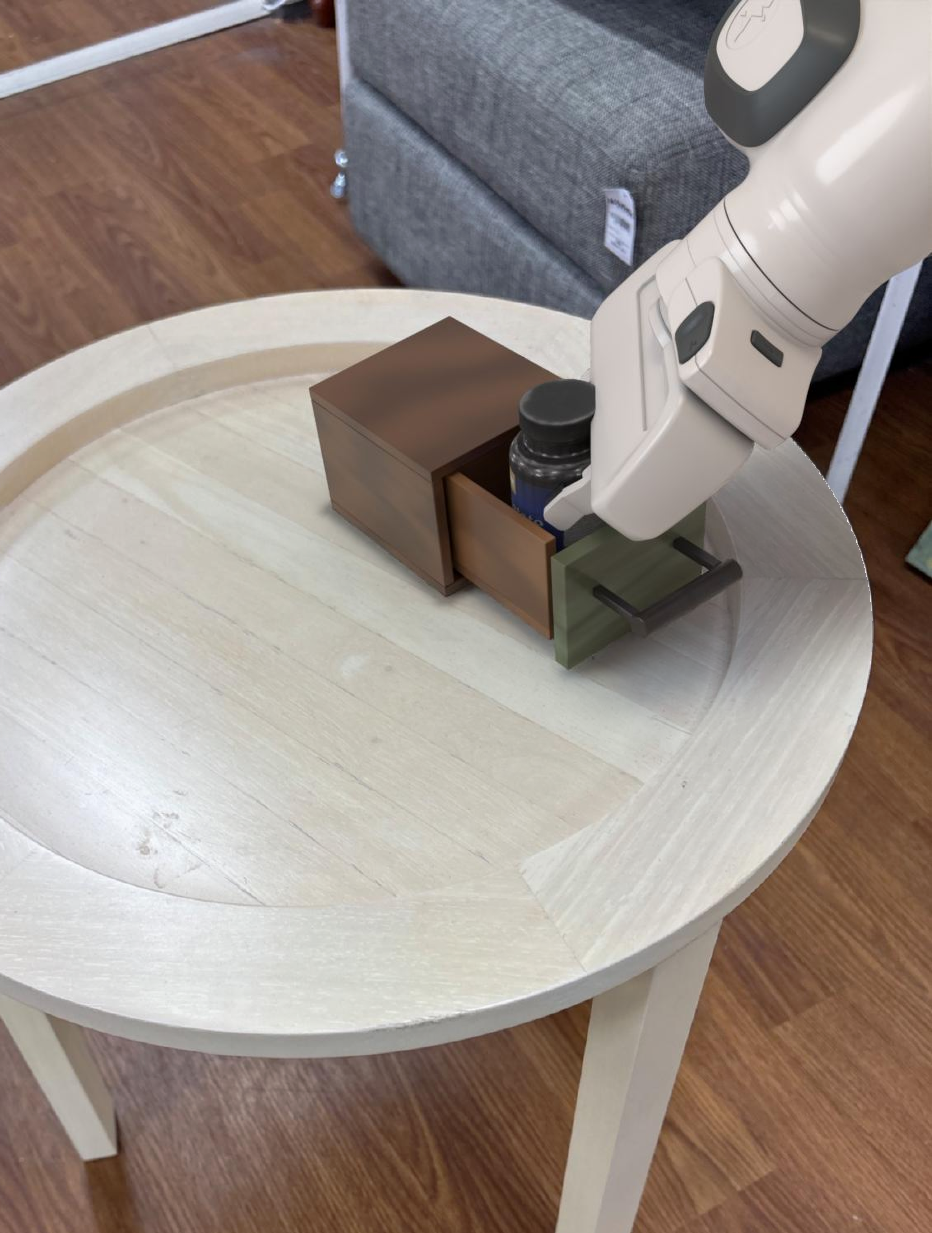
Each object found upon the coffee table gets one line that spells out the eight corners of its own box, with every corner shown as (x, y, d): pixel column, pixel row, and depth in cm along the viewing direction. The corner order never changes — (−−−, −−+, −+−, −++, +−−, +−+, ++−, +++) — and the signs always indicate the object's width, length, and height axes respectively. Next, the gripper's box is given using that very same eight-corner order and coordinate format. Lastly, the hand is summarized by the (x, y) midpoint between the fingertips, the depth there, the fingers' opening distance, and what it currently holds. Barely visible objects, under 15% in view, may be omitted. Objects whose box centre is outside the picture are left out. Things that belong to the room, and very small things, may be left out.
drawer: (758, 626, 76) (771, 518, 70) (622, 712, 74) (623, 607, 68) (566, 502, 87) (563, 399, 81) (441, 574, 84) (428, 472, 78)
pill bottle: (498, 551, 82) (485, 395, 74) (583, 516, 83) (580, 358, 75) (546, 604, 78) (539, 444, 70) (636, 566, 79) (638, 405, 71)
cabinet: (585, 517, 87) (582, 389, 80) (446, 597, 84) (430, 472, 77) (461, 437, 95) (449, 315, 88) (331, 508, 93) (308, 387, 85)
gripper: (685, 176, 72) (518, 353, 82) (708, 375, 59) (505, 559, 69) (763, 246, 75) (591, 410, 84) (801, 452, 62) (593, 619, 71)
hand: (553, 479), depth 76 cm, fingers closed on pill bottle, 6 cm apart
